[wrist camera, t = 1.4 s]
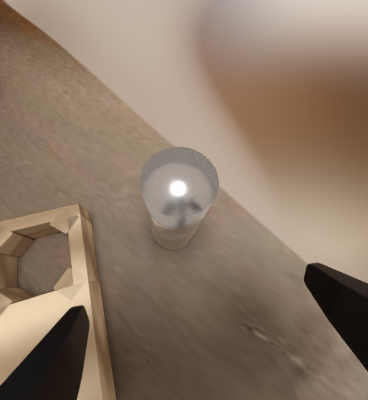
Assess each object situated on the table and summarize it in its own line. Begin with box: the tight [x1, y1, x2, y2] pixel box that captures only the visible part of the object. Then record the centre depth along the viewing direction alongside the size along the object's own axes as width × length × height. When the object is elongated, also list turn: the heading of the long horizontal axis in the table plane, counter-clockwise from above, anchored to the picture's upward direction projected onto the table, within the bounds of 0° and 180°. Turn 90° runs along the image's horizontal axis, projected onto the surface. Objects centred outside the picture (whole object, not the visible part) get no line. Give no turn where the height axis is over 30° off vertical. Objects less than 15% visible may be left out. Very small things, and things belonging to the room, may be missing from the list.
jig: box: [0, 204, 116, 400], centre depth 16 cm, size 16×8×3 cm, turn 17°
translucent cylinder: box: [140, 147, 219, 250], centre depth 16 cm, size 4×4×11 cm
